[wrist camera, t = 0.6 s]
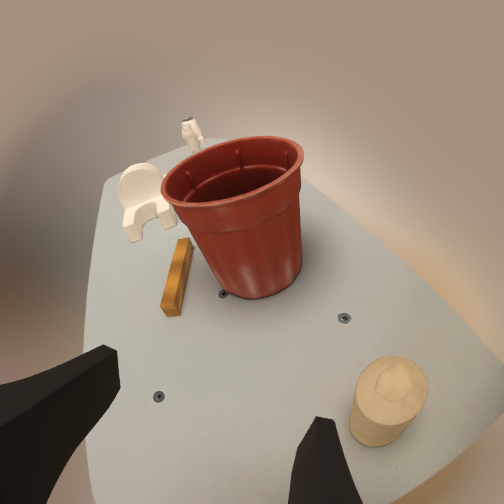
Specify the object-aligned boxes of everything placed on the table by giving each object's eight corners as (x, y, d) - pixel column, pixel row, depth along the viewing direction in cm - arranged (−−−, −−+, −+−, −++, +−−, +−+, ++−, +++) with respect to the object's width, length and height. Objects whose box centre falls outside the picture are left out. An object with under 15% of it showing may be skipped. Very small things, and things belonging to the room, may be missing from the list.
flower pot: (243, 222, 53) (217, 135, 42) (335, 240, 44) (325, 136, 34) (182, 291, 43) (133, 197, 33) (283, 330, 35) (252, 216, 24)
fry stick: (179, 315, 40) (173, 304, 39) (166, 316, 40) (159, 306, 39) (193, 247, 50) (189, 237, 49) (182, 249, 51) (177, 239, 49)
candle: (363, 388, 27) (373, 337, 20) (412, 404, 24) (441, 357, 18) (339, 436, 24) (343, 403, 17) (391, 454, 21) (419, 428, 14)
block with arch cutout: (134, 201, 70) (115, 162, 63) (171, 186, 71) (154, 146, 64) (130, 243, 56) (105, 196, 49) (176, 224, 57) (154, 174, 50)
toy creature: (182, 159, 83) (169, 121, 75) (202, 151, 84) (190, 113, 76) (192, 172, 74) (177, 129, 66) (214, 163, 75) (201, 120, 67)
